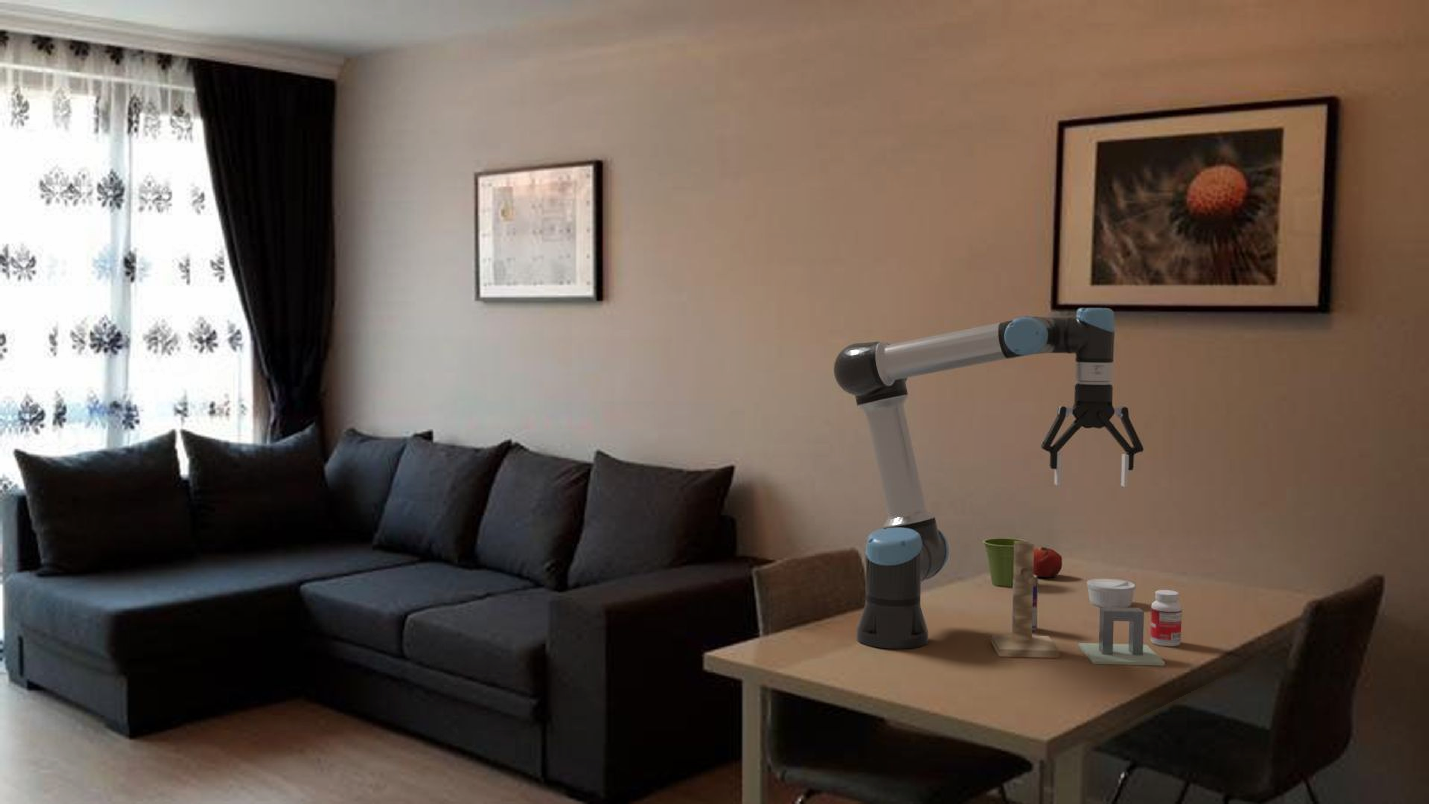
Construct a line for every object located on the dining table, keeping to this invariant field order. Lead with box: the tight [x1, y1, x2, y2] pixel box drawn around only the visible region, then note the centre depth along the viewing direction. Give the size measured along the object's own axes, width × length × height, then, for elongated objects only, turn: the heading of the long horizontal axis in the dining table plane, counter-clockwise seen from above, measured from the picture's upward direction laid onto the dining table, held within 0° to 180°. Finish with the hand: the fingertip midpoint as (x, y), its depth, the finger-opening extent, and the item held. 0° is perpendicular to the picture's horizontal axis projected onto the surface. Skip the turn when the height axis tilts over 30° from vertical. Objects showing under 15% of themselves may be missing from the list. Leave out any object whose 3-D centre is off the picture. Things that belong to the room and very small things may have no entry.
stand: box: [990, 540, 1060, 659], centre depth 264 cm, size 12×15×22 cm
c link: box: [1098, 607, 1145, 655], centre depth 261 cm, size 8×4×9 cm, turn 86°
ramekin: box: [1086, 578, 1136, 608], centre depth 308 cm, size 11×11×5 cm
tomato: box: [1033, 546, 1063, 578], centre depth 341 cm, size 9×9×8 cm
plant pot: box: [982, 537, 1027, 587], centre depth 331 cm, size 12×12×11 cm
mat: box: [1078, 642, 1166, 666], centre depth 262 cm, size 14×14×1 cm
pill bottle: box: [1150, 589, 1183, 648], centre depth 271 cm, size 6×6×11 cm
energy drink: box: [1011, 574, 1039, 632], centre depth 283 cm, size 5×5×12 cm
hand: (1090, 485), depth 264 cm, fingers open, 13 cm apart
